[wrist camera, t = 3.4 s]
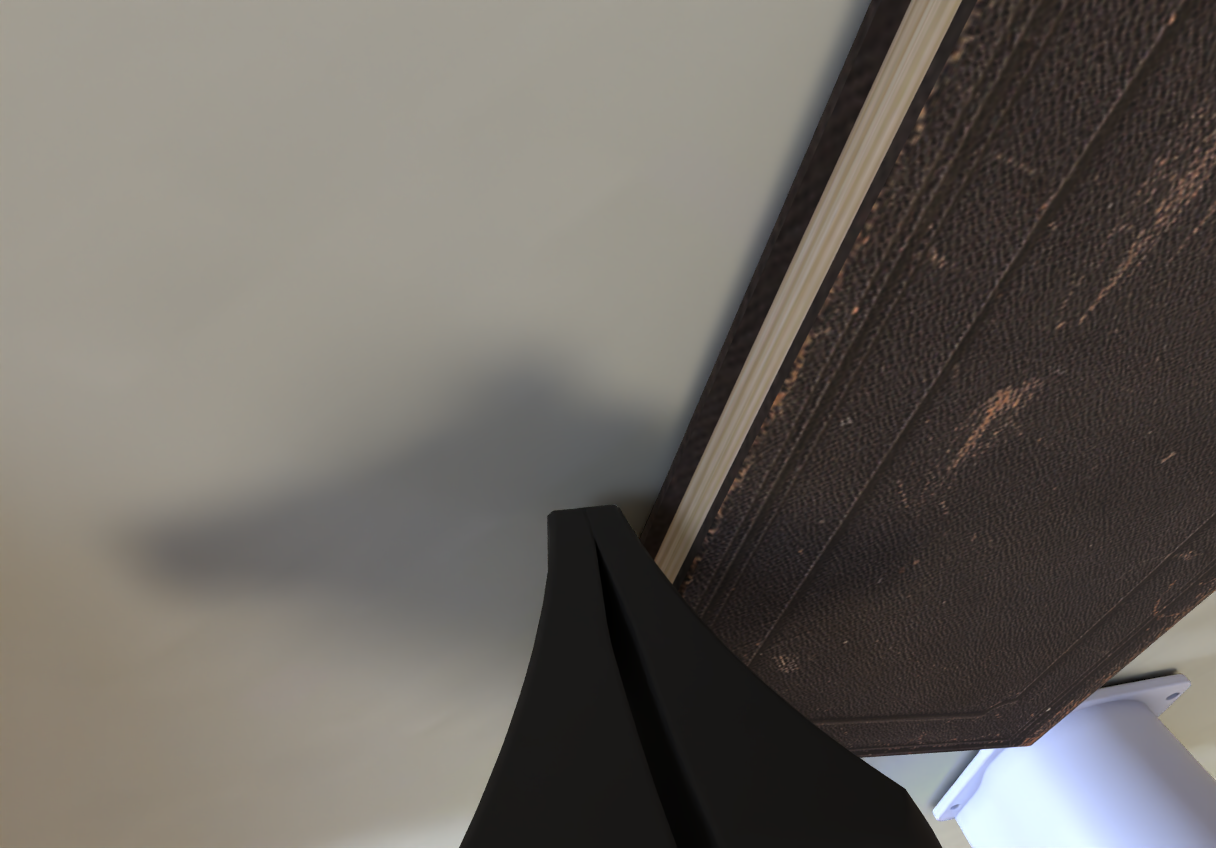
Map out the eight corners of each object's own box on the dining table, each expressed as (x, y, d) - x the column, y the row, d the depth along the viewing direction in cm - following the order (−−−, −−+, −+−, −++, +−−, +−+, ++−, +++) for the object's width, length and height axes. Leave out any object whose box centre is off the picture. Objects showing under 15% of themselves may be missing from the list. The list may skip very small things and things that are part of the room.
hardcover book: (571, 693, 18) (585, 777, 16) (1213, -806, 6) (1577, -1168, 4) (996, 683, 23) (1042, 746, 21) (1815, -112, 11) (2092, -124, 9)
